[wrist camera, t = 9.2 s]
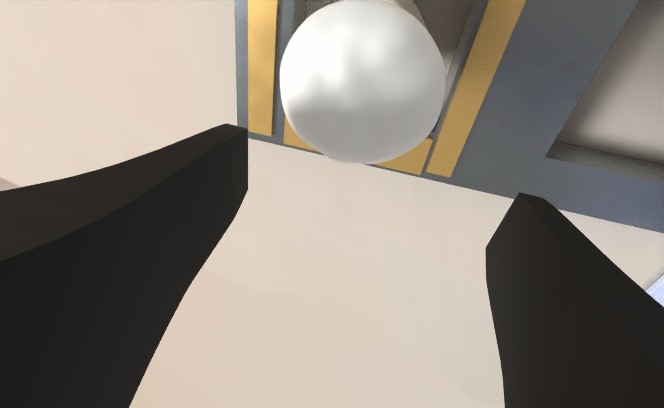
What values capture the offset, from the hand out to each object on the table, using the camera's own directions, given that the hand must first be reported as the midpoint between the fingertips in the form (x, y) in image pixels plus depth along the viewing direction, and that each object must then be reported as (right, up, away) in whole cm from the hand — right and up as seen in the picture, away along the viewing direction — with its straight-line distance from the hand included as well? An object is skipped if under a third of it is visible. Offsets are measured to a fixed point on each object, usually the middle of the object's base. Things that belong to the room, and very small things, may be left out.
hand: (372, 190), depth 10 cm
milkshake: (+1, +8, +6) cm, 10 cm away
